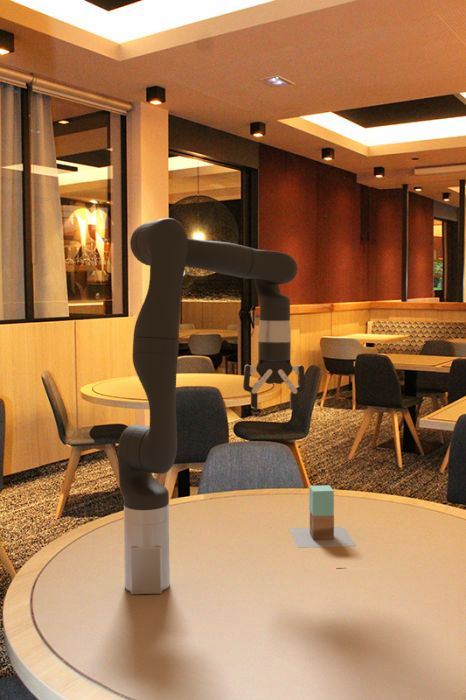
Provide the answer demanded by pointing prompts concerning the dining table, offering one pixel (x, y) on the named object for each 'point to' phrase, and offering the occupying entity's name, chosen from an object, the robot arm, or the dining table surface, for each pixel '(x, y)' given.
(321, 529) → the walnut brick
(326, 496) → the teal brick
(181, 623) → the dining table surface
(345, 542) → the plate
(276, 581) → the dining table surface
